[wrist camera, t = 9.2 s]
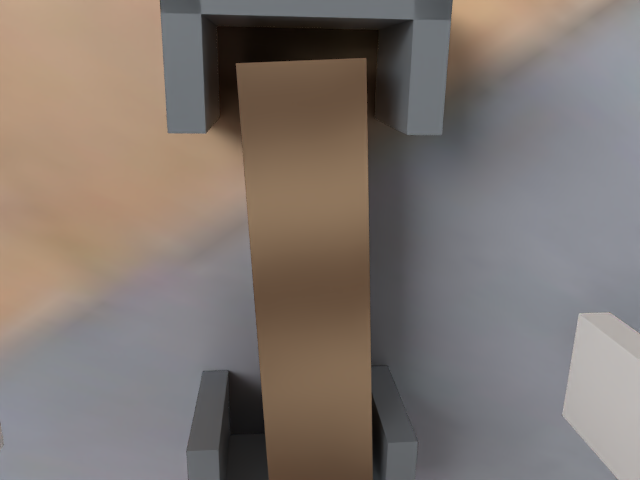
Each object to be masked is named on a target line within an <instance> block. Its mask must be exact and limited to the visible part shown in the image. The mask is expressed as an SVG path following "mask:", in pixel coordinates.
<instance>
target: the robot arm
mask: <svg viewBox="0 0 640 480" xmlns="http://www.w3.org/2000/svg"><path fill="white" fill-rule="evenodd" d="M562 416H563V417H564V418H565V419H566V420H567V421H568V423H569V424H570V425H571V426H572V427H573V428H574V429H575V431H576V432H577V433H578V434H579V435H580V436H581V437H582V439H583V440H584V441H585V442H586V443H587V444H588V445H589V447H590V448H591V449H592V450H593V451H594V452H595V454H596V455H597V456H598V457H599V458H600V459H601V460H602V462H603V463H604V464H605V465H606V466H607V467H608V468H609V470H610V471H611V472H612V473H613V474H614V475H615V477H616V478H617V479H618V480H640V333H638V332H637V331H635V330H634V329H633V328H631V327H630V326H628V325H627V324H625V323H624V322H623V321H621V320H620V319H618V318H617V317H616V316H614V315H613V314H611V313H610V312H604V313H579V316H578V322H577V328H576V334H575V340H574V346H573V352H572V358H571V365H570V371H569V377H568V383H567V389H566V395H565V401H564V407H563V413H562ZM3 445H4V441H3V436H2V430H1V424H0V450H1V449H2V447H3Z"/></svg>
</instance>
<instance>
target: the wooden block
mask: <svg viewBox="0 0 640 480" xmlns="http://www.w3.org/2000/svg"><path fill="white" fill-rule="evenodd" d="M236 73H237V85H238V98H239V111H240V123H241V136H242V148H243V161H244V174H245V186H246V199H247V212H248V224H249V237H250V249H251V262H252V275H253V287H254V300H255V312H256V325H257V338H258V350H259V363H260V376H261V388H262V401H263V413H264V426H265V439H266V451H267V464H268V476H269V480H373V463H372V397H371V330H370V263H369V197H368V130H367V64H366V58H351V59H327V60H303V61H279V62H255V63H236Z"/></svg>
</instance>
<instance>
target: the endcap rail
mask: <svg viewBox="0 0 640 480" xmlns="http://www.w3.org/2000/svg"><path fill="white" fill-rule="evenodd" d="M452 1H453V0H160V9H161V26H162V43H163V60H164V77H165V94H166V111H167V128H168V133H207V131H208V130H209V129H210V128H211V127H212V126H213V124H214V123H215V122H216V121H217V120H218V119H219V117H220V105H219V74H218V43H217V26H236V27H277V28H319V29H361V30H378V51H377V74H376V96H375V119H376V120H378V121H380V122H382V123H384V124H386V125H388V126H390V127H392V128H394V129H396V130H398V131H400V132H402V133H404V134H406V135H442V129H443V116H444V103H445V90H446V78H447V65H448V52H449V39H450V26H451V14H452ZM371 397H372V463H373V480H415V473H416V461H417V448H418V440H417V438H416V435H415V433H414V430H413V428H412V425H411V423H410V421H409V418H408V416H407V413H406V411H405V408H404V406H403V403H402V401H401V398H400V396H399V393H398V391H397V388H396V386H395V383H394V381H393V378H392V376H391V373H390V371H389V368H388V366H371ZM186 452H187V469H188V480H269V476H268V464H267V451H266V439H265V433H259V434H234V435H230V413H229V382H228V371H203V373H202V378H201V383H200V388H199V393H198V397H197V402H196V407H195V412H194V417H193V422H192V427H191V432H190V436H189V441H188V446H187V451H186Z"/></svg>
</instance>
